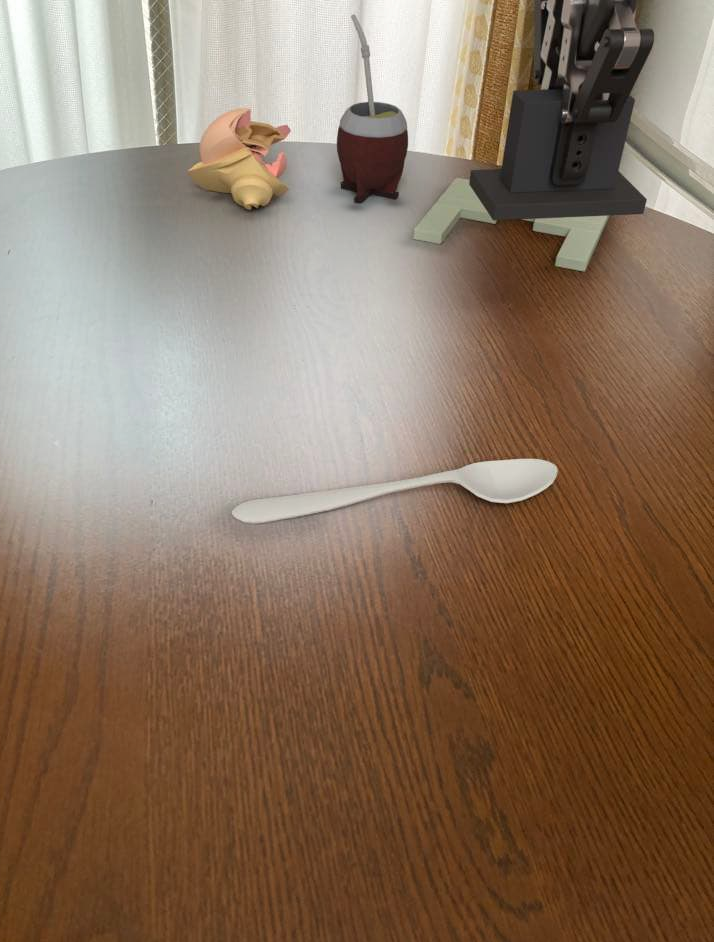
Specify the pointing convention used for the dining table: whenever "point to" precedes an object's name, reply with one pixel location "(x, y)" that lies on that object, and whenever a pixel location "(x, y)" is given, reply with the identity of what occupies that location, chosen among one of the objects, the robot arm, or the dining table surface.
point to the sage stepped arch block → (467, 205)
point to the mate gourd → (371, 141)
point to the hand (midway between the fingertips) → (558, 173)
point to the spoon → (481, 478)
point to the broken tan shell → (240, 159)
